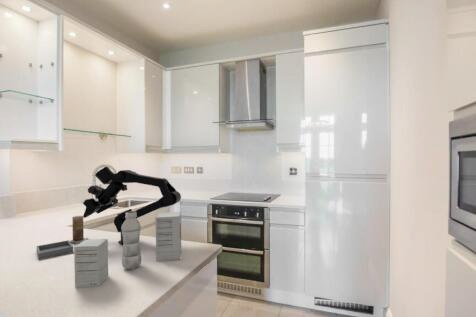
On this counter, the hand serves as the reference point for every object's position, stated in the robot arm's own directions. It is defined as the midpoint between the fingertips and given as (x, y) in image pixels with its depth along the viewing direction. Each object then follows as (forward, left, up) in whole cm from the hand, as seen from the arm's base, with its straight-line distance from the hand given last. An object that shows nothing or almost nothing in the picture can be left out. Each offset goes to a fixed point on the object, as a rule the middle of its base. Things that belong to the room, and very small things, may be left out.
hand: (90, 215), depth 122 cm
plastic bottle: (-43, -4, -13) cm, 45 cm away
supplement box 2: (-42, -19, -13) cm, 48 cm away
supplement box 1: (-45, +9, -13) cm, 48 cm away
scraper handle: (+5, +4, -13) cm, 14 cm away
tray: (-4, +14, -13) cm, 20 cm away
